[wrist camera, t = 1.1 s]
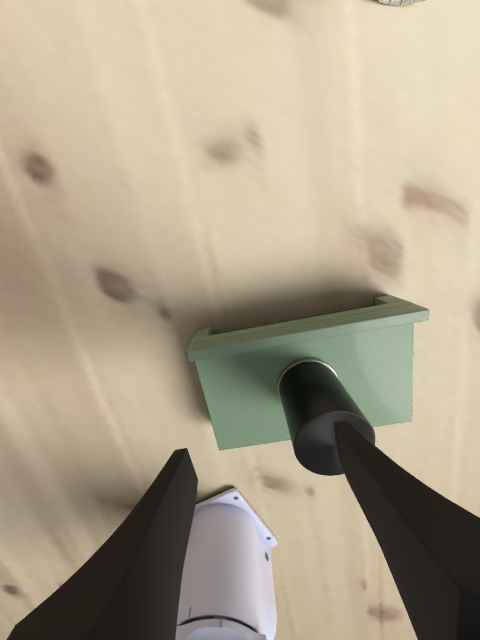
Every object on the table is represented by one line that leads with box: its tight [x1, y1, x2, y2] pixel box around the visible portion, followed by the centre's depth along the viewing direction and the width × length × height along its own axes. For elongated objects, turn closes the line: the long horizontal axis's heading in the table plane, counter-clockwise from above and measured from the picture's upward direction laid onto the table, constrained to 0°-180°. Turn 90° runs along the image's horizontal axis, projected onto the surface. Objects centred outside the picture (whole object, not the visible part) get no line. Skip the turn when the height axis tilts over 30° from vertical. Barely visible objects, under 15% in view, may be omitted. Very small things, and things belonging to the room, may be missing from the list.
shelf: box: [186, 295, 429, 450], centre depth 20 cm, size 10×16×4 cm, turn 101°
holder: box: [277, 358, 375, 476], centre depth 16 cm, size 5×5×6 cm
